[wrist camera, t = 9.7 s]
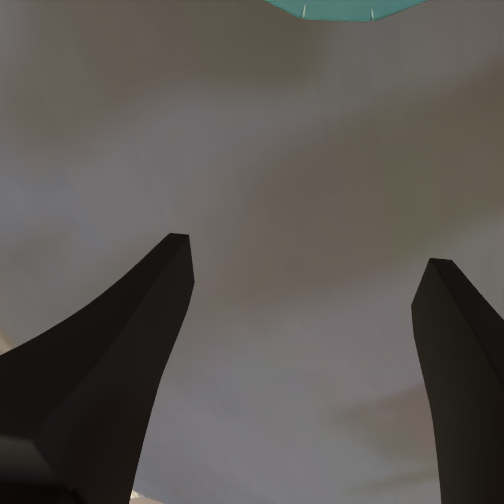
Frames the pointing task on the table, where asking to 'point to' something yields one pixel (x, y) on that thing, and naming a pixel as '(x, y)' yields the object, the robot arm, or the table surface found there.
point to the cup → (343, 9)
